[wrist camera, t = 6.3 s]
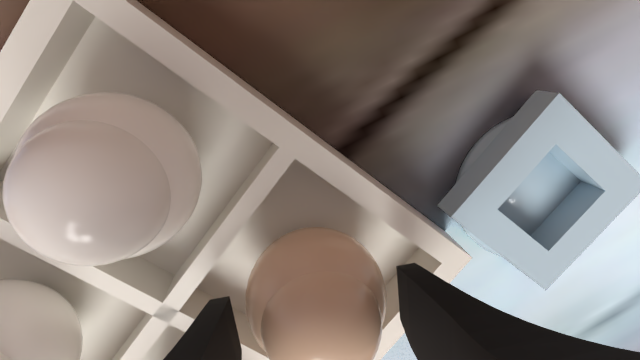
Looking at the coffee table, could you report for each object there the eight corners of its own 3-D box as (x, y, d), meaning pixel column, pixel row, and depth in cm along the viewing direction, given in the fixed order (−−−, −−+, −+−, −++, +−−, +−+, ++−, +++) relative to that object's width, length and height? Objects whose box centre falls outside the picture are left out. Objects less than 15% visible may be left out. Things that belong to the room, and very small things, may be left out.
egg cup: (424, 203, 15) (441, 219, 14) (529, 79, 14) (560, 82, 13) (520, 276, 17) (545, 297, 16) (620, 170, 16) (657, 182, 15)
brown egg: (259, 322, 16) (255, 452, 10) (238, 217, 14) (221, 308, 9) (371, 301, 16) (420, 416, 11) (361, 197, 14) (413, 273, 9)
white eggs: (-58, 326, 14) (-249, 483, 9) (113, 55, 12) (-2, 52, 7) (221, 446, 17) (202, 610, 12) (390, 247, 15) (452, 343, 10)
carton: (-120, 330, 14) (-187, 377, 12) (95, -31, 12) (58, -50, 10) (233, 474, 18) (228, 527, 16) (445, 231, 16) (472, 257, 14)
